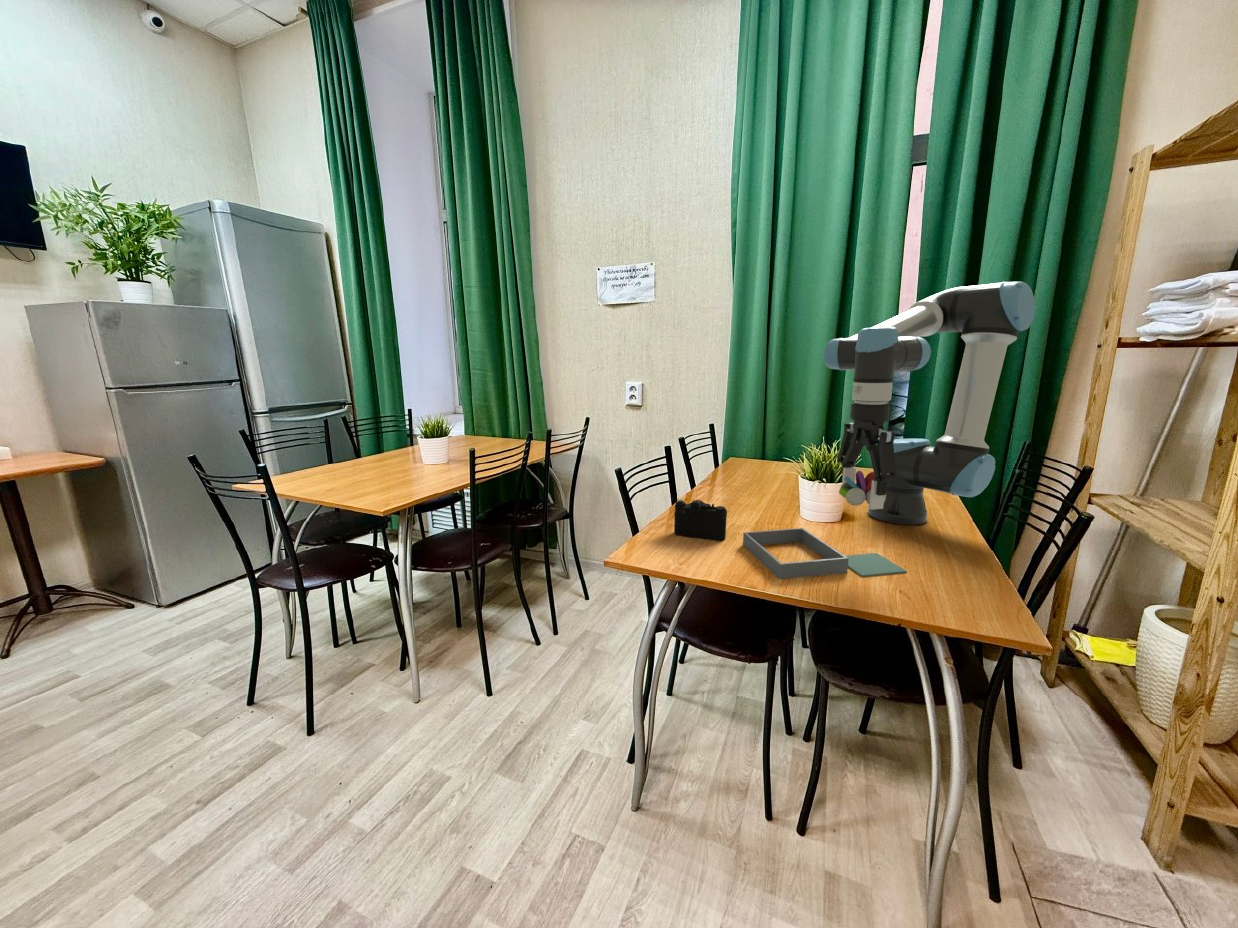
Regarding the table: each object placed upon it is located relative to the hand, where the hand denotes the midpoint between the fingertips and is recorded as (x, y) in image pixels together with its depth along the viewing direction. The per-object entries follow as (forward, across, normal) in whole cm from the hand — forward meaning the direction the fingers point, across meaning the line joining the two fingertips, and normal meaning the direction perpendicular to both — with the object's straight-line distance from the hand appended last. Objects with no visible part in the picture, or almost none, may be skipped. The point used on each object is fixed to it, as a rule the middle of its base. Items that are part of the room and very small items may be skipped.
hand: (861, 501), depth 110 cm
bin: (+15, -5, -13) cm, 21 cm away
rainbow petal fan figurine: (0, 0, 0) cm, 0 cm away
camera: (+15, -25, -29) cm, 41 cm away
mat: (+15, +2, +2) cm, 15 cm away
